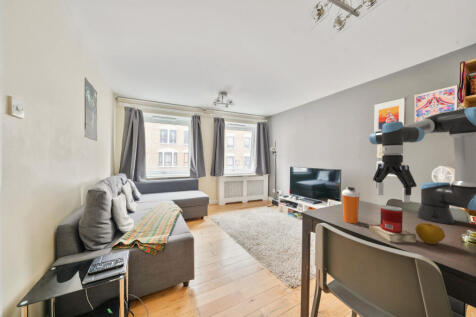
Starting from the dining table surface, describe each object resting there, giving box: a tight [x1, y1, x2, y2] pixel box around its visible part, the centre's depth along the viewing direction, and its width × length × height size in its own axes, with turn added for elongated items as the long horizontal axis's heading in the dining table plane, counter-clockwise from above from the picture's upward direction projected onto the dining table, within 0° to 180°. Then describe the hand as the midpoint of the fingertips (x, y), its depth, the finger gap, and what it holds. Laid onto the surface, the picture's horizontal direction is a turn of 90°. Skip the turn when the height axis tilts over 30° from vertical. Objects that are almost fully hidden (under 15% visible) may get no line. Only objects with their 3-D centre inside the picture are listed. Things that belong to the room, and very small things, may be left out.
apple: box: [415, 222, 446, 245], centre depth 77 cm, size 9×9×9 cm
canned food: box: [379, 204, 404, 233], centre depth 84 cm, size 8×8×11 cm
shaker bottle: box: [341, 186, 361, 225], centre depth 103 cm, size 9×9×20 cm
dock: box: [368, 224, 417, 243], centre depth 84 cm, size 12×12×3 cm
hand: (392, 198), depth 84 cm, fingers open, 13 cm apart
